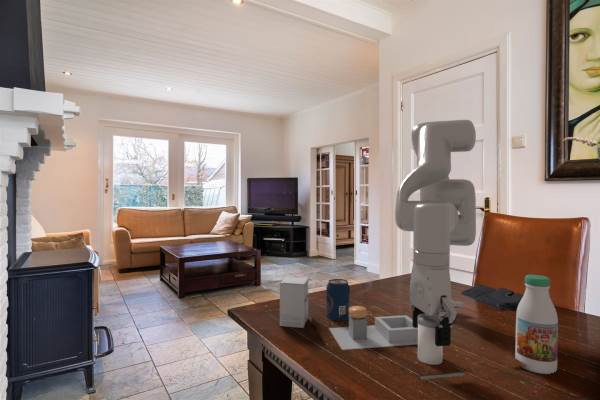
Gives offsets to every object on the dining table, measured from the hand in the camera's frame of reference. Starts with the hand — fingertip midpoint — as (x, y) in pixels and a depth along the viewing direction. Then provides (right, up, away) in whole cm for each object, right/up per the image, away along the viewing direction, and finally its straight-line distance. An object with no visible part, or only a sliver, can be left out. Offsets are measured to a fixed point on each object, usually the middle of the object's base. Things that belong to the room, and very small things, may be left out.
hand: (430, 335), depth 78 cm
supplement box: (-30, -6, +26) cm, 40 cm away
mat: (0, -7, 0) cm, 7 cm away
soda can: (-18, -6, +27) cm, 33 cm away
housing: (-8, -6, +13) cm, 17 cm away
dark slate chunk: (+41, -6, +47) cm, 63 cm away
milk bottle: (+23, -7, 0) cm, 24 cm away
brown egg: (-14, -3, +12) cm, 19 cm away
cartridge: (0, -6, 0) cm, 6 cm away
